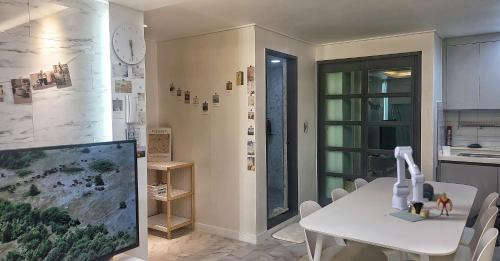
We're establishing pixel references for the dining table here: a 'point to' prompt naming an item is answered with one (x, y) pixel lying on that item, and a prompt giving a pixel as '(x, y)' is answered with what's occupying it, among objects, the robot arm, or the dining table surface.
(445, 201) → the action figure
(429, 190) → the portable speaker
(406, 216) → the board
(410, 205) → the hinge post
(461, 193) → the dining table surface
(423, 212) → the tan piece
